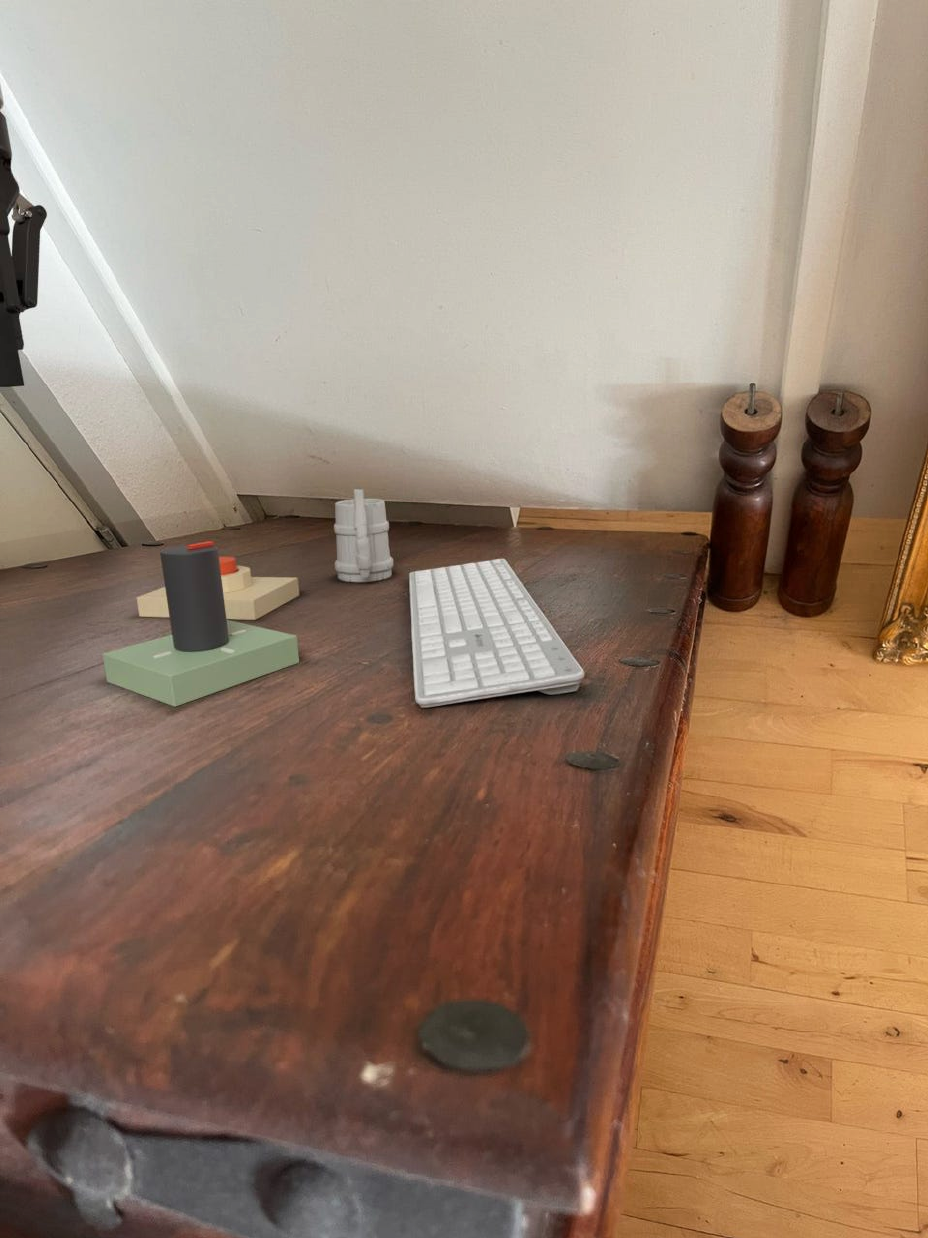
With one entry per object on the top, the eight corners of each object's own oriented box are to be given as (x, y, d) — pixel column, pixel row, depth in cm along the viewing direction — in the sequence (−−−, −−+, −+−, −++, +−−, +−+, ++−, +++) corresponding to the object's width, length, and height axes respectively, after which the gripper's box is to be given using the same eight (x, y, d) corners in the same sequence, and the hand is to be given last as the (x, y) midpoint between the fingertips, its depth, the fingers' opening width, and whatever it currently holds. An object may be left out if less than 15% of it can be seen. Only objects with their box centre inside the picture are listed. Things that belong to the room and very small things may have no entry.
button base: (139, 616, 82) (133, 581, 81) (194, 593, 92) (190, 561, 91) (255, 620, 79) (251, 583, 78) (299, 595, 89) (296, 562, 88)
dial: (193, 655, 59) (179, 552, 57) (163, 646, 62) (148, 547, 60) (239, 640, 63) (228, 543, 60) (209, 633, 65) (196, 539, 63)
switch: (193, 578, 83) (191, 563, 83) (212, 571, 87) (210, 556, 86) (225, 579, 82) (223, 563, 82) (243, 571, 86) (242, 556, 86)
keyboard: (409, 580, 96) (408, 562, 95) (505, 575, 96) (504, 557, 96) (414, 711, 53) (413, 680, 52) (586, 700, 54) (586, 669, 53)
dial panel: (106, 682, 61) (101, 651, 61) (230, 644, 71) (226, 617, 70) (174, 707, 55) (169, 673, 55) (299, 662, 65) (296, 633, 64)
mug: (392, 569, 102) (387, 480, 99) (397, 588, 91) (391, 489, 88) (336, 572, 102) (329, 483, 98) (334, 592, 90) (325, 492, 87)
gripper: (2, 135, 73) (47, 388, 79) (-154, 88, 62) (-87, 387, 68) (51, 119, 69) (94, 385, 76) (-104, 66, 58) (-40, 383, 64)
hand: (8, 385), depth 72 cm, fingers closed
